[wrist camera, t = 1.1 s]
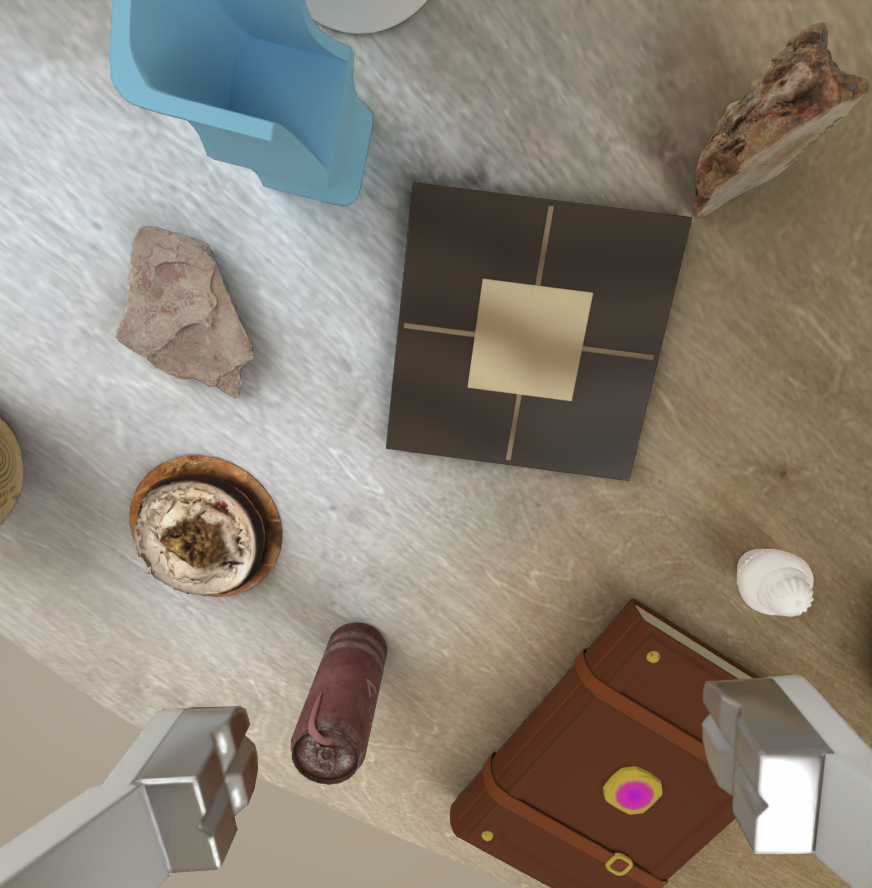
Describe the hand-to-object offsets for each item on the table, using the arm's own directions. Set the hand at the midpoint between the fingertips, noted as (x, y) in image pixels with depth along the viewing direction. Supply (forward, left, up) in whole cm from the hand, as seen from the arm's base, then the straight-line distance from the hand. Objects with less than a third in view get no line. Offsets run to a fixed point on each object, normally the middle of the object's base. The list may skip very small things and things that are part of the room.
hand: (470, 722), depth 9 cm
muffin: (+14, +30, -39) cm, 51 cm away
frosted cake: (+18, -23, -39) cm, 49 cm away
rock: (-20, +18, -39) cm, 48 cm away
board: (-4, +5, -39) cm, 40 cm away
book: (+38, +22, -39) cm, 59 cm away
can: (+29, -7, -39) cm, 49 cm away
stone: (-2, -24, -39) cm, 46 cm away
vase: (-17, -14, -39) cm, 45 cm away
